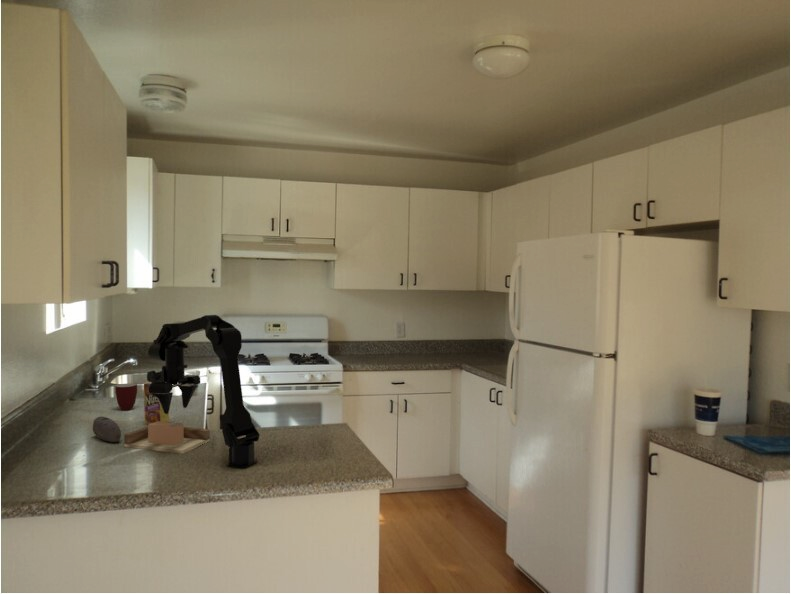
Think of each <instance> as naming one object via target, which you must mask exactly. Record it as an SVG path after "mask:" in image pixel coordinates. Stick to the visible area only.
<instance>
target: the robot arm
mask: <svg viewBox="0 0 791 594" xmlns="http://www.w3.org/2000/svg"><path fill="white" fill-rule="evenodd" d="M215 328H216V329H215ZM203 331H204V333H205V334H204V335H205V337H206V339H208V340H209V341H210V343H211V345H212V350H213V352H214V354H215V355H216V356H217V357H218V359H219V361H220V368H221V370H220V371H221V377H222V385H223V393H224V395H223V396H224V401H225V403H224V404H225V410H224V411H223V412H224V413H222V414H220V415H219V421H220V430H221V433H222V436H223V439H224V444H225V446H227V447H228V463H227V464H226V466H227V467H234V468H243V469H247V468H249V467H251V466H252V465H254V464H255V463H257V462H258V460H257V459H255V442H258V441H259V440H260V435H261V434H260V433H259V431H258V429H257V428H256V426H255V424H254V423H253V422H252V417H251V413H250V412H249V410H248V409H247V408H246V407H245V405H244V399H243V391H242V390H243V389H242V383H241V382H242V381H241V375H240V367H239V366H240V365H239V357H238V356H239V355H240V352H241V350H242V347H243V345H242V343H243V342H242V341H243V340H242V337H243V336H242V332H241V331H240V330H239V329H238V328H237V327H235V326H234V325H233V324H232V323H229V322H228V321H226V320H224V319H222V318H221V316H219V315H217V314H205V315H203V316H202V317H198V318H194V319H190V320H188V321H184V322H171V323H164V324H162V327H161V329H160V331H159V333H158V336H157V337H156V339H153V343H152V344H151V345H150V346H149V348H148V351H147V353H148V354H147V355H148V357H149V358H150V360H152V361H153V360H154V361H162V362H164V363H165V365H162V366H161V370H160V371H157V372H156V371H155V370H151V371H147V374H146V381H147V382H151V383H152V384H150V385H149V386H148V392H149V393H151V394H152V395H155V396H156V397H157V398H158V399H159V401H160V403H161V406H162V408H163V411H164V413H165V414H168V413H169V414H170V408H171V403H172V399H173V395H174V394H173V393H174V392H172V390H173V388H177V387H178V388H179V390H180V392H181V398H182V399H181V401H182V408H184V409H187V408H188V405H189V404H190V401H191V399H192V397H193V395H194V393H195V391H196V389H197V388H198V387H199V385H201V377H200V376H199V375H198V374H197V375H196V374H195V375H194V374H186V373H185V369H187V368H188V364H185V349H188V348H189V345H188V344H187V343H185V341H184V340H186V339H188V338H190V336H191V335H192V334H195V333H196V334H197V333H199V332H203ZM240 437H241V438H240Z"/></svg>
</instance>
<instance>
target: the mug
mask: <svg viewBox="0 0 791 594" xmlns="http://www.w3.org/2000/svg"><path fill="white" fill-rule="evenodd" d="M114 387H115V388H114V389H115V391H114V392H115V396H116V398H115V399H116V401H117V405H118V407H119V409H120V410H121V411H126V412H127V411H131V410H133V408H134V406H135V404H136V400H137V393H138V384H137V383H120V384H116V385H115V386H114Z"/></svg>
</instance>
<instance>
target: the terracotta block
mask: <svg viewBox="0 0 791 594" xmlns="http://www.w3.org/2000/svg"><path fill="white" fill-rule="evenodd" d="M147 427H148V443H153V444H162V445H171V446H175V445H178V444H180V443H183V442H184V427H185V426H184V423H183V422H170V421H169V422H161V421H157V422H154V423H151V424H147Z"/></svg>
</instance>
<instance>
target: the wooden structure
mask: <svg viewBox="0 0 791 594" xmlns="http://www.w3.org/2000/svg"><path fill="white" fill-rule="evenodd" d="M210 431H211V430H210V429H208V428H207V429H206V428H197V427H186V426H184V442H183V443H180V444H178V445H175V446H171V445H162V444H153V443H148V426H144V427H143V428H140V429H139V428H138V429H137V430H133V431H130V432H128V433H125V434H124V435H123V437H124V446H123V447H124V448H128V449H129V448H130V449H138V450H149V451H156V452H164V453H165V452H166V453H174V454H185V453H187V452H190V451H192V450H194V449H196V448H198V446H199V447H200V445H201V446H202V444H203V445H205V444H207V442H208V443H210V442H211V436H210V435H211V432H210ZM209 441H210V442H209ZM204 443H205V444H204Z"/></svg>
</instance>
